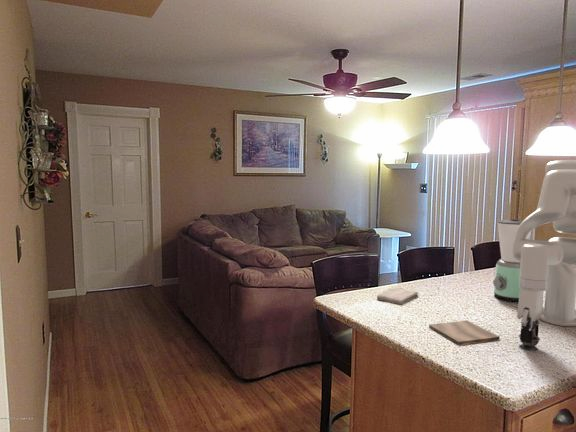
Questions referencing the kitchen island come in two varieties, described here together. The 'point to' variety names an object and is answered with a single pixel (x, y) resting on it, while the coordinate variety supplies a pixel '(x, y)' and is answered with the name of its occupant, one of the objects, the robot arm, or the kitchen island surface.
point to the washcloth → (397, 295)
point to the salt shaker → (534, 340)
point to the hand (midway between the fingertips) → (529, 338)
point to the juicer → (508, 261)
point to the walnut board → (463, 332)
